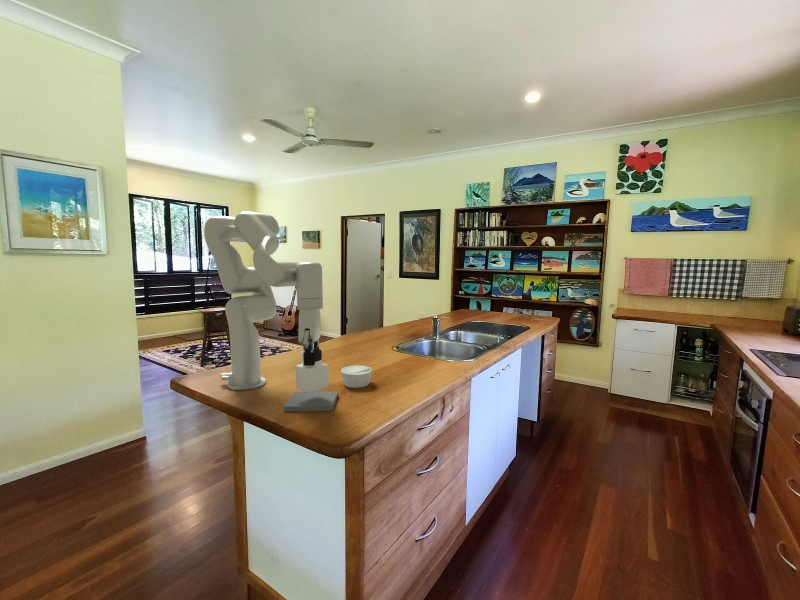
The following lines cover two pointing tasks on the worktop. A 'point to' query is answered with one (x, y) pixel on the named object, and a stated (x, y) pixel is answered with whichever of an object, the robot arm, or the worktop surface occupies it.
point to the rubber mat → (311, 401)
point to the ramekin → (356, 376)
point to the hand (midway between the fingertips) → (311, 361)
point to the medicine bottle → (312, 374)
